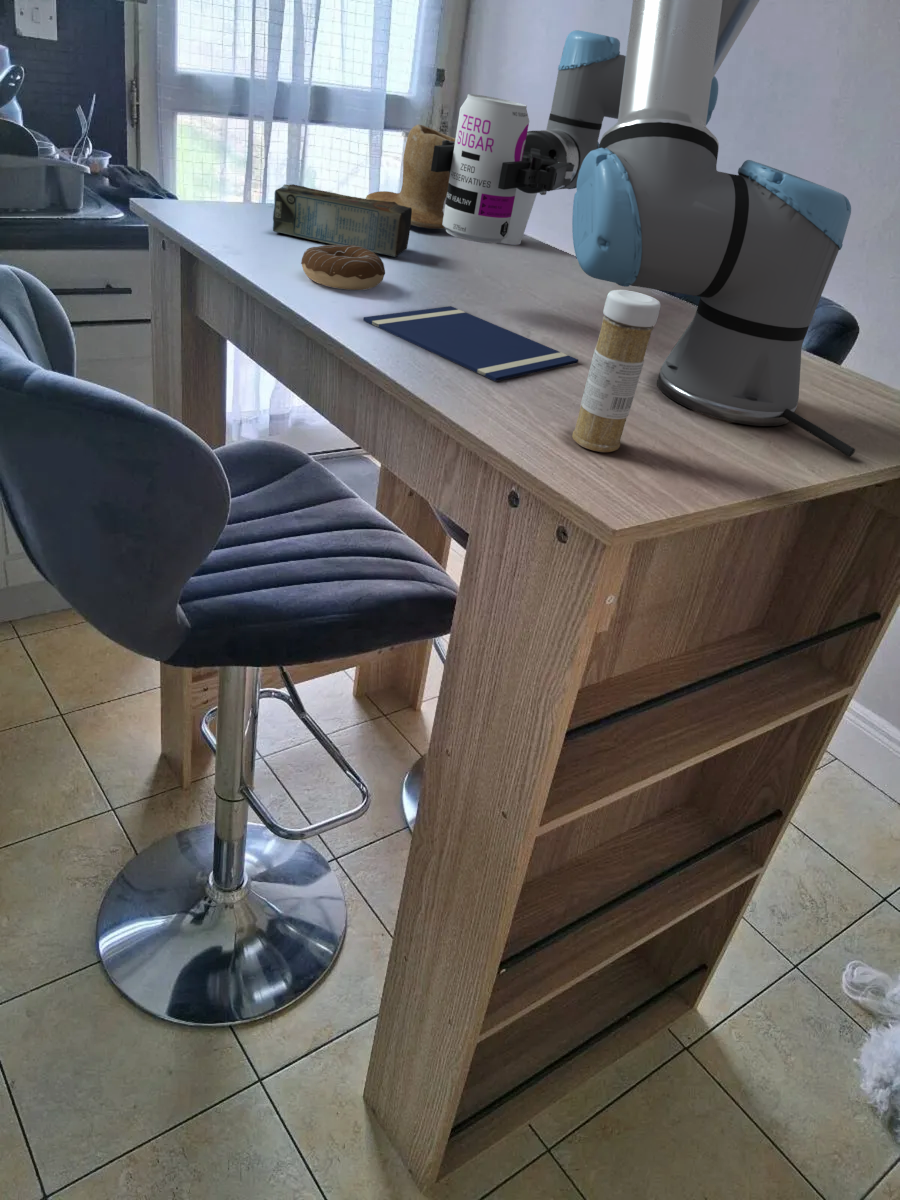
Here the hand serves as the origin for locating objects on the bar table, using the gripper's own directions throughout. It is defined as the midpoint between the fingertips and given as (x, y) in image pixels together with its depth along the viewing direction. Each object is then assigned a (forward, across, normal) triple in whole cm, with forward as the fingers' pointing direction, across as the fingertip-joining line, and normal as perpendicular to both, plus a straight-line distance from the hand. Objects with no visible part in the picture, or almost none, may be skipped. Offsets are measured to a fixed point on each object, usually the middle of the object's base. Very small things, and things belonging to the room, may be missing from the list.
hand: (468, 167), depth 103 cm
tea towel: (+9, -8, -16) cm, 20 cm away
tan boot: (-43, +29, -16) cm, 54 cm away
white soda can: (-5, 0, -8) cm, 9 cm away
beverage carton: (-17, +26, -16) cm, 35 cm away
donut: (+2, +14, -16) cm, 22 cm away
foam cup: (-50, +14, -16) cm, 54 cm away
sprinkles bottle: (+26, -29, -17) cm, 43 cm away
